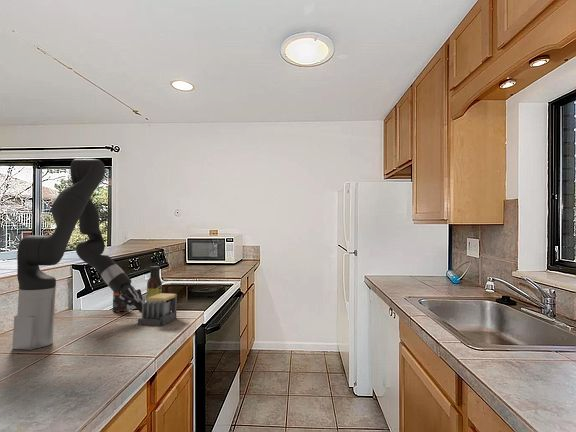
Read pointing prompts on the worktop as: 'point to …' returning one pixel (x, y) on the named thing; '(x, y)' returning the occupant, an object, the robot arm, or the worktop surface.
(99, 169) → the robot arm
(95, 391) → the worktop surface
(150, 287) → the sauce bottle
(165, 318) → the grey and yellow stand
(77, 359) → the worktop surface
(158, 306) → the heatsink block
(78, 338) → the worktop surface
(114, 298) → the supplement bottle
